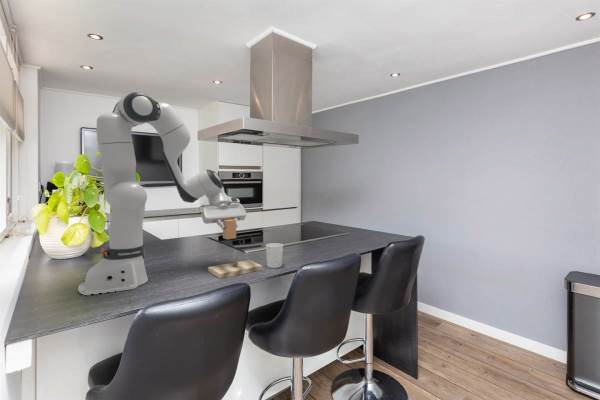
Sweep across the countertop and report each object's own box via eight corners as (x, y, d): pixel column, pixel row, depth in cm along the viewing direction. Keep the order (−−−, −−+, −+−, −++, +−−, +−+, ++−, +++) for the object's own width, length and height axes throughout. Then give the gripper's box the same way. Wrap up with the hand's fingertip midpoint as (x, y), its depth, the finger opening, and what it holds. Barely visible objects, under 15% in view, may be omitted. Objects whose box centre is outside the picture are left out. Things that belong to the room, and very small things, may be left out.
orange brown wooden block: (227, 239, 130) (227, 221, 129) (223, 237, 133) (222, 220, 133) (236, 238, 133) (235, 220, 132) (231, 236, 136) (231, 219, 135)
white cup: (278, 269, 136) (279, 247, 135) (263, 267, 138) (263, 245, 137) (285, 264, 143) (285, 243, 142) (270, 263, 146) (270, 242, 145)
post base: (219, 278, 121) (219, 256, 121) (208, 271, 131) (207, 251, 130) (262, 270, 134) (262, 250, 133) (248, 264, 143) (248, 245, 143)
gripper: (199, 200, 130) (209, 225, 124) (241, 198, 143) (252, 221, 137) (196, 210, 134) (205, 235, 127) (237, 207, 147) (247, 229, 140)
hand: (230, 228), depth 132 cm, fingers closed on orange brown wooden block, 4 cm apart
